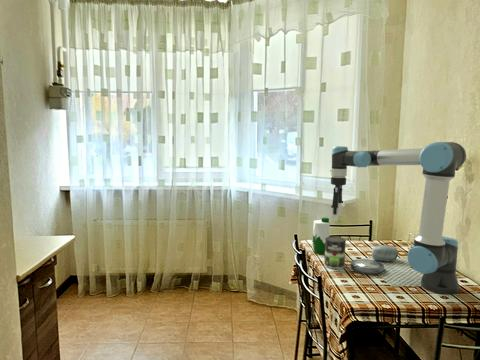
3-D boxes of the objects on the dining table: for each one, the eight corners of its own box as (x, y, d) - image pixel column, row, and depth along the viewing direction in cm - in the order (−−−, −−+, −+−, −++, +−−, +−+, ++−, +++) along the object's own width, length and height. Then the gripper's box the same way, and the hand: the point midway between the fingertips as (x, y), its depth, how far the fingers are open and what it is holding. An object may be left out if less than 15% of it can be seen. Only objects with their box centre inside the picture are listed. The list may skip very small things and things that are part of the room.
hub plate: (390, 272, 187) (391, 266, 186) (366, 276, 180) (366, 271, 180) (367, 262, 201) (367, 257, 201) (343, 266, 194) (344, 261, 194)
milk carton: (329, 254, 214) (331, 220, 212) (313, 254, 214) (314, 219, 212) (326, 249, 223) (328, 216, 220) (311, 249, 223) (312, 216, 221)
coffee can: (344, 270, 189) (345, 242, 187) (323, 267, 192) (324, 240, 190) (345, 263, 199) (346, 237, 197) (325, 261, 202) (326, 235, 200)
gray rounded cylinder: (396, 251, 209) (394, 238, 204) (401, 264, 201) (399, 251, 196) (370, 255, 212) (368, 242, 207) (374, 268, 205) (372, 255, 200)
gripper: (334, 174, 204) (332, 212, 206) (327, 179, 181) (325, 222, 183) (348, 174, 201) (346, 213, 203) (343, 179, 178) (341, 223, 180)
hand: (336, 217), depth 193 cm, fingers open, 13 cm apart
